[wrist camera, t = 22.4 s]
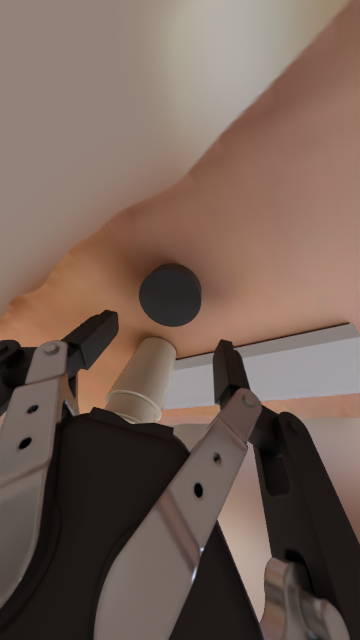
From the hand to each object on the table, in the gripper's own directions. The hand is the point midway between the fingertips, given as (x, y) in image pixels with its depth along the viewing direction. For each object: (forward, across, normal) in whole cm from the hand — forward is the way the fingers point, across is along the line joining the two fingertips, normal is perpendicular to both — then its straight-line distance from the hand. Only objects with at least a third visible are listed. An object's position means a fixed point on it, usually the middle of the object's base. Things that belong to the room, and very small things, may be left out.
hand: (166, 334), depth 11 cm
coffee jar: (+7, +2, +11) cm, 13 cm away
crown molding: (+8, -12, +12) cm, 19 cm away
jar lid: (+6, +1, 0) cm, 6 cm away
